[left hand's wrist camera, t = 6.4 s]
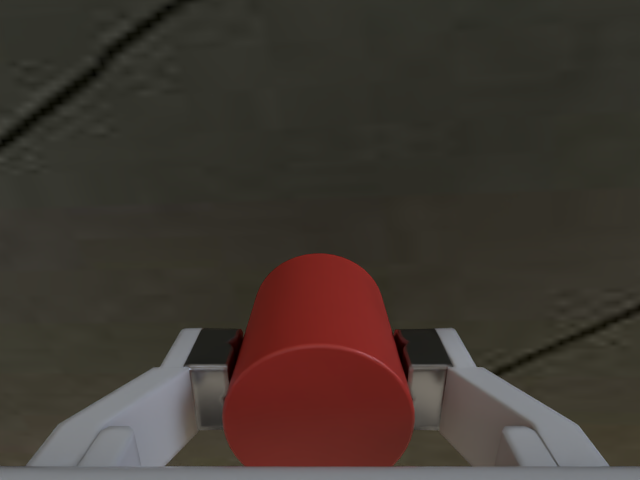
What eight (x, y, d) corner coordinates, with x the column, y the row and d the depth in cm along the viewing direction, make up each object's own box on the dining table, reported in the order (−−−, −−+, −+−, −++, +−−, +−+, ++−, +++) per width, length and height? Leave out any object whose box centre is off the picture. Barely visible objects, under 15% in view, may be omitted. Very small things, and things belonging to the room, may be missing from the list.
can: (229, 315, 12) (182, 432, 8) (313, 225, 11) (309, 306, 7) (323, 384, 13) (325, 519, 9) (409, 306, 12) (456, 420, 8)
